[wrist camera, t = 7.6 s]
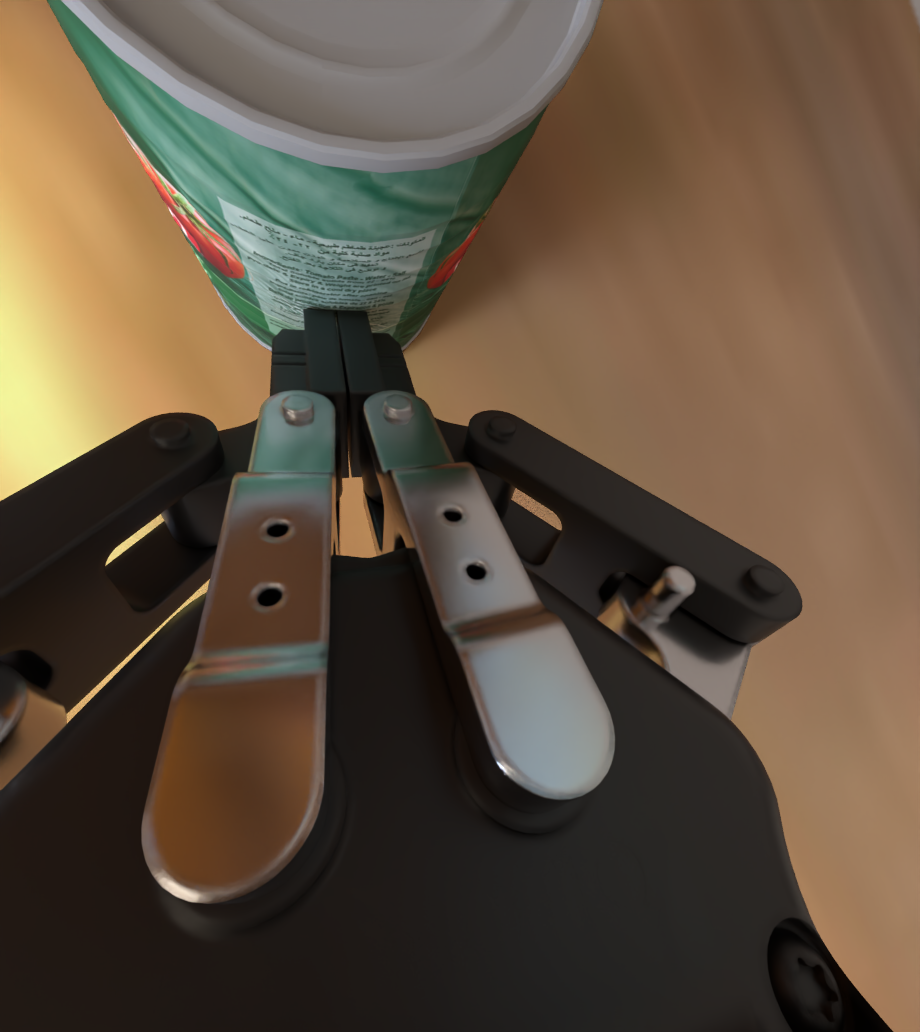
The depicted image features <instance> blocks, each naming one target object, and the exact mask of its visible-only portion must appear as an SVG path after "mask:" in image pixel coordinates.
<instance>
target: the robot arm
mask: <svg viewBox="0 0 920 1032" xmlns="http://www.w3.org/2000/svg"><path fill="white" fill-rule="evenodd" d="M303 311H304V330H293V329H282V330H281V331H280V332H279V333H278V334H277V335H276V336H275V337H274V338H273V339H272V359H271V363H272V365H271V384H270V397H269V398H268V399H266V400H265V401H264V402H263V404H262V405H261V408H260V412H259V417H258V419H256V420H255V421H253V422H251V423H248V424H246V425H243V426H239V427H235V428H231V429H226V430H222V431H217V428H216V426H215V425H214V424H213V423H212V422H211V421H210V420H209V419H207V418H205V417H203V416H200V415H196V414H192V413H167V414H161V415H157V416H154V417H151V418H148V419H146V420H144V421H142V422H140V423H138V424H136V425H135V426H133V427H131V428H129V429H128V430H126V431H124V432H122V433H120V434H119V435H117V436H115V437H113V438H112V439H110V440H108V441H106V442H105V443H103V444H101V445H99V446H97V447H96V448H94V449H92V450H90V451H89V452H87V453H85V454H83V455H82V456H80V457H78V458H76V459H74V460H73V461H71V462H69V463H67V464H66V465H64V466H62V467H60V468H59V469H57V470H55V471H53V472H51V473H50V474H48V475H46V476H44V477H43V478H41V479H39V480H37V481H36V482H34V483H32V484H30V485H28V486H27V487H25V488H23V489H21V490H20V491H18V492H16V493H14V494H13V495H11V496H9V497H7V498H5V499H4V500H2V501H0V1032H893V1031H892V1030H891V1029H890V1028H889V1026H888V1025H887V1024H886V1023H885V1022H884V1021H883V1020H882V1018H881V1017H880V1016H879V1015H878V1014H877V1013H876V1011H875V1010H874V1009H873V1008H872V1007H871V1006H870V1004H869V1003H868V1002H867V1001H866V1000H865V999H864V997H863V996H862V995H861V994H860V993H859V991H858V990H857V989H856V988H855V986H854V985H853V984H852V983H851V981H850V980H849V979H848V977H847V976H846V975H845V974H844V972H843V971H842V969H841V968H840V967H839V965H838V964H837V962H836V961H835V960H834V958H833V957H832V955H831V954H830V952H829V950H828V949H827V947H826V946H825V944H824V942H823V941H822V939H821V937H820V935H819V934H818V932H817V930H816V928H815V926H814V924H813V921H812V919H811V917H810V914H809V912H808V909H807V907H806V904H805V902H804V899H803V897H802V894H801V891H800V889H799V886H798V883H797V880H796V877H795V873H794V870H793V867H792V864H791V861H790V857H789V853H788V849H787V846H786V842H785V837H784V832H783V827H782V822H781V817H780V812H779V807H778V802H777V798H776V795H775V792H774V789H773V786H772V783H771V781H770V778H769V776H768V774H767V772H766V770H765V767H764V765H763V764H762V762H761V760H760V758H759V757H758V755H757V753H756V751H755V750H754V749H753V747H752V746H751V744H750V743H749V741H748V740H747V739H746V737H745V736H744V735H743V734H742V733H741V731H740V730H739V729H738V728H737V727H736V725H735V724H734V723H733V722H732V721H731V717H732V714H733V710H734V707H735V703H736V700H737V696H738V693H739V689H740V686H741V682H742V679H743V675H744V671H745V668H746V664H747V661H748V657H749V654H750V650H751V648H752V647H753V646H754V645H756V644H757V643H759V642H760V641H762V640H763V639H765V638H766V637H768V636H769V635H771V634H772V633H774V632H775V631H777V630H778V629H780V628H781V627H783V626H784V625H786V624H787V623H789V622H790V621H792V620H793V619H795V618H796V617H797V616H799V615H800V613H801V611H802V599H801V596H800V593H799V591H798V589H797V588H796V586H795V584H794V583H793V582H792V580H791V579H790V578H789V577H788V576H787V575H786V574H785V573H784V572H783V571H782V570H781V569H779V568H778V567H777V566H776V565H774V564H773V563H771V562H769V561H768V560H766V559H764V558H763V557H761V556H759V555H757V554H756V553H754V552H752V551H750V550H749V549H747V548H745V547H743V546H742V545H740V544H738V543H736V542H735V541H733V540H731V539H730V538H728V537H726V536H724V535H723V534H721V533H719V532H717V531H716V530H714V529H712V528H710V527H709V526H707V525H705V524H703V523H702V522H700V521H698V520H696V519H695V518H693V517H691V516H689V515H688V514H686V513H684V512H682V511H681V510H679V509H677V508H675V507H674V506H672V505H670V504H669V503H667V502H665V501H663V500H662V499H660V498H658V497H656V496H655V495H653V494H651V493H649V492H648V491H646V490H644V489H642V488H641V487H639V486H637V485H635V484H634V483H632V482H630V481H628V480H627V479H625V478H623V477H621V476H620V475H618V474H616V473H615V472H613V471H611V470H609V469H608V468H606V467H604V466H602V465H601V464H599V463H597V462H595V461H594V460H592V459H590V458H588V457H587V456H585V455H583V454H581V453H580V452H578V451H576V450H574V449H573V448H571V447H569V446H567V445H566V444H564V443H562V442H560V441H559V440H557V439H555V438H554V437H552V436H550V435H548V434H547V433H545V432H543V431H541V430H540V429H538V428H536V427H534V426H533V425H531V424H529V423H527V422H526V421H524V420H522V419H520V418H519V417H517V416H515V415H512V414H510V413H507V412H503V411H495V410H489V411H483V412H480V413H477V414H475V415H474V416H473V417H472V418H471V419H470V422H469V426H468V427H467V426H462V425H457V424H452V423H448V422H444V421H441V420H439V419H436V418H434V416H433V414H432V412H431V409H430V407H429V406H428V404H427V403H426V402H425V401H424V400H422V399H421V398H419V397H418V396H416V394H415V390H414V387H413V384H412V381H411V378H410V374H409V371H408V368H407V365H406V362H405V359H404V355H403V352H402V349H401V346H400V344H399V343H398V342H397V341H396V340H395V339H394V338H393V337H392V336H391V335H390V334H389V333H372V331H371V327H370V323H369V319H368V315H367V312H360V311H341V310H337V325H336V318H335V311H334V310H321V309H303ZM348 452H349V460H350V467H351V475H352V477H362V480H363V503H364V507H365V511H366V515H367V519H368V523H369V527H370V531H371V535H372V539H373V543H374V547H375V550H376V554H377V556H376V557H372V558H360V557H351V556H342V555H340V497H341V495H342V478H349V464H348ZM515 488H517V489H518V490H520V491H522V492H523V493H525V494H526V495H528V496H529V497H531V498H533V499H534V500H536V501H537V502H539V503H540V504H542V505H544V506H545V507H547V508H548V509H550V510H551V511H553V512H554V513H555V514H556V515H557V516H558V517H559V519H560V521H561V524H562V531H560V530H558V529H556V528H554V527H553V526H551V525H550V524H548V523H547V522H545V521H544V520H542V519H540V518H539V517H537V516H536V515H534V514H533V513H531V512H530V511H528V510H527V509H525V508H523V507H522V506H520V505H519V504H517V503H516V502H514V501H513V500H511V498H512V496H513V493H514V490H515ZM160 514H161V515H162V517H163V519H164V522H162V523H161V524H160V525H158V526H157V527H156V528H155V529H153V530H152V531H151V532H149V533H148V534H147V535H145V536H144V537H143V538H142V539H140V540H139V541H138V542H136V543H135V544H134V545H132V546H131V547H130V548H128V549H127V550H126V551H125V552H123V553H122V554H121V555H119V556H118V557H117V558H115V559H114V560H113V561H112V562H110V563H109V564H108V565H106V561H107V559H108V557H109V555H110V554H111V553H112V551H113V550H114V549H115V548H116V547H117V546H118V545H120V544H121V543H122V542H124V541H125V540H126V539H128V538H129V537H130V536H132V535H133V534H134V533H136V532H137V531H138V530H140V529H141V528H142V527H144V526H145V525H146V524H148V523H149V522H150V521H152V520H153V519H154V518H156V517H157V516H158V515H160ZM105 565H106V566H105ZM209 579H210V581H209V586H208V590H207V592H206V593H205V594H203V595H201V596H200V597H198V598H197V599H195V600H194V601H192V602H191V603H189V604H188V605H187V606H186V607H184V608H183V609H182V610H181V611H180V612H178V613H177V614H176V615H175V616H174V617H173V618H172V619H171V620H169V621H168V622H167V623H166V624H165V625H164V626H163V627H162V628H161V629H160V630H159V631H158V632H157V633H156V634H155V636H154V637H153V638H152V639H151V640H150V641H149V642H148V643H147V644H146V645H145V646H144V647H143V648H142V649H141V650H140V651H139V652H138V653H137V654H136V655H135V656H134V657H133V658H132V659H131V660H130V661H129V662H128V663H127V664H126V665H125V666H124V667H123V668H122V669H121V670H120V671H119V672H118V673H117V674H116V675H115V676H114V677H113V678H112V679H111V680H110V681H109V682H108V683H107V684H106V685H105V686H104V687H103V688H102V689H101V690H100V691H99V692H98V693H97V694H96V695H95V696H94V697H93V698H92V699H91V700H90V701H89V702H88V703H87V704H86V705H85V706H84V707H83V708H82V709H81V710H80V711H79V712H78V713H77V714H76V715H75V716H74V717H73V718H72V719H71V720H70V721H69V722H68V723H67V716H66V714H67V713H68V712H69V711H70V710H71V709H72V708H73V707H74V706H76V705H77V704H78V703H79V702H80V701H81V700H82V699H83V698H84V697H85V696H86V695H87V694H88V693H89V692H90V691H91V690H92V689H93V688H95V687H96V686H97V685H98V684H99V683H100V682H101V681H102V680H103V679H104V678H105V677H106V676H107V675H108V674H109V673H110V672H111V671H112V670H114V669H115V668H116V667H117V666H118V665H119V664H120V663H121V662H122V661H123V660H124V659H125V658H126V657H127V656H128V655H129V654H130V653H132V652H133V651H134V650H135V649H136V648H137V647H138V646H139V645H140V644H141V643H142V642H143V641H144V640H145V639H146V638H147V637H148V636H149V635H151V634H152V633H153V632H154V631H155V630H156V629H157V628H158V627H159V626H160V625H161V624H162V623H163V622H164V621H165V620H166V619H167V618H169V617H170V616H171V615H172V614H173V613H174V612H175V611H176V610H177V609H178V608H179V607H180V606H181V605H182V604H183V603H184V602H185V601H186V600H188V599H189V598H190V597H191V596H192V595H193V594H194V593H195V592H196V591H197V590H198V589H199V588H200V587H201V586H202V585H203V584H204V583H206V582H207V581H208V580H209Z"/></svg>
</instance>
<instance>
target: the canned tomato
mask: <svg viewBox="0 0 920 1032" xmlns="http://www.w3.org/2000/svg"><path fill="white" fill-rule="evenodd" d="M47 2H48V3H49V5H50V7H51V9H52V11H53V13H54V14H55V16H56V18H57V20H58V22H59V23H60V25H61V27H62V29H63V31H64V33H65V34H66V36H67V38H68V40H69V42H70V44H71V45H72V47H73V49H74V51H75V53H76V54H77V55H78V57H79V58H80V59H81V61H82V62H83V63H84V65H85V67H86V69H87V70H88V72H89V74H90V76H91V78H92V80H93V81H94V83H95V85H96V87H97V89H98V91H99V92H100V94H101V96H102V98H103V100H104V102H105V103H106V105H107V106H108V107H109V108H110V110H111V111H112V113H113V115H114V117H115V118H116V120H117V122H118V124H119V126H120V128H121V129H122V131H123V133H124V135H125V137H126V139H127V140H128V142H129V143H130V145H131V146H132V147H133V149H134V150H135V152H136V154H137V156H138V158H139V160H140V161H141V163H142V165H143V167H144V169H145V171H146V173H147V174H148V175H149V176H150V178H151V179H152V181H153V183H154V185H155V187H156V189H157V190H158V192H159V194H160V196H161V198H162V199H163V201H164V202H165V203H166V205H167V207H168V209H169V210H170V212H171V214H172V216H173V218H174V220H175V221H176V223H177V224H178V225H179V227H180V229H181V231H182V233H183V234H184V236H185V238H186V240H187V241H188V243H189V244H190V246H191V248H192V250H193V251H194V253H195V255H196V257H197V258H198V259H199V261H200V263H201V265H202V267H203V268H204V270H205V272H206V273H207V275H208V276H209V278H210V280H211V282H212V284H213V286H214V287H215V289H216V291H217V293H218V295H219V297H220V298H221V300H222V302H223V304H224V306H225V307H226V309H227V310H228V311H229V313H230V314H231V315H232V316H233V318H234V319H235V320H236V321H237V323H238V324H239V325H240V326H241V328H243V329H244V330H245V331H246V332H247V333H248V334H249V335H250V336H252V337H253V338H254V339H255V340H256V341H257V342H258V343H259V344H261V345H262V346H263V347H265V348H267V349H268V350H270V351H271V352H272V339H273V338H274V337H275V336H276V335H277V334H278V333H279V332H280V331H281V330H282V329H293V330H304V311H303V309H321V310H334V311H335V318H336V325H337V310H341V311H360V312H367V315H368V319H369V323H370V327H371V331H372V333H389V334H390V335H391V336H392V337H393V338H394V339H395V340H396V341H397V342H398V343H399V344H400V346H401V349H402V351H403V350H404V349H405V348H407V347H408V345H409V344H410V343H411V342H412V341H413V340H414V339H415V338H416V337H417V336H418V334H419V333H420V332H421V330H422V328H423V327H424V325H425V323H426V321H427V320H428V318H429V316H430V313H431V311H432V309H433V307H434V306H435V304H436V302H437V301H438V299H439V297H440V295H441V294H442V292H443V290H444V288H445V287H446V285H447V283H448V282H449V280H450V278H451V276H452V275H453V273H454V271H455V269H456V268H457V266H458V264H459V262H460V261H461V259H462V257H463V256H464V254H465V252H466V250H467V249H468V247H469V245H470V243H471V242H472V240H473V238H474V237H475V235H476V233H477V231H478V230H479V228H480V226H481V224H482V223H483V221H484V219H485V218H486V216H487V214H488V212H489V211H490V209H491V207H492V205H493V204H494V202H495V200H496V198H497V197H498V195H499V193H500V192H501V190H502V188H503V186H504V185H505V183H506V181H507V179H508V178H509V176H510V174H511V173H512V171H513V169H514V167H515V166H516V164H517V162H518V160H519V159H520V157H521V155H522V154H523V152H524V150H525V148H526V147H527V145H528V143H529V141H530V140H531V138H532V136H533V135H534V133H535V131H536V128H537V126H538V124H539V122H540V120H541V118H542V116H543V114H544V112H545V110H546V108H547V106H548V105H549V103H550V102H551V101H552V99H553V98H554V97H555V96H556V95H557V94H558V93H559V92H560V91H561V89H562V88H563V87H564V85H565V84H566V82H567V80H568V78H569V77H570V75H571V73H572V71H573V70H574V68H575V66H576V64H577V63H578V61H579V59H580V58H581V56H582V54H583V52H584V51H585V49H586V47H587V45H588V44H589V41H590V39H591V37H592V34H593V31H594V28H595V25H596V22H597V19H598V16H599V13H600V10H601V7H602V4H603V0H47Z"/></svg>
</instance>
